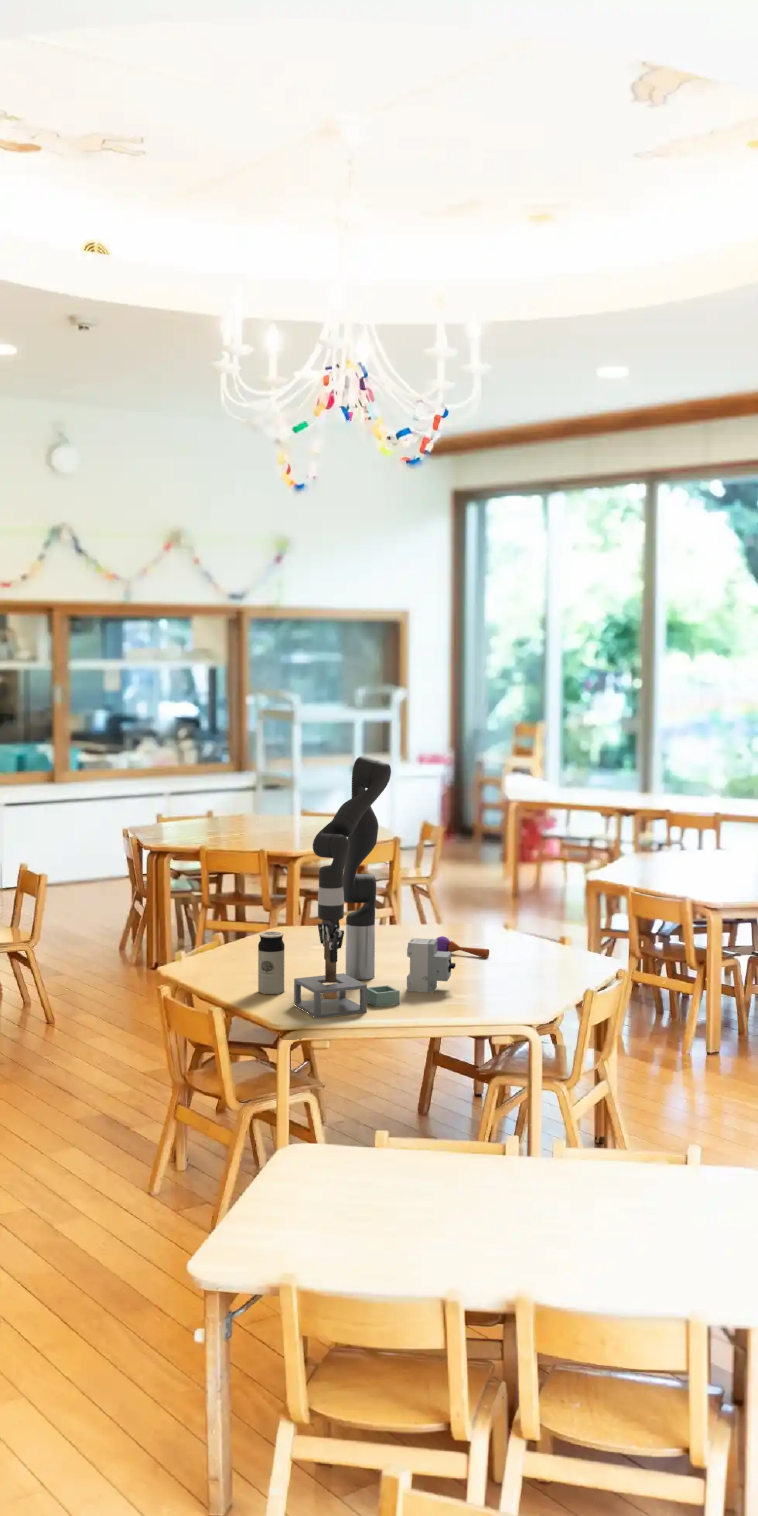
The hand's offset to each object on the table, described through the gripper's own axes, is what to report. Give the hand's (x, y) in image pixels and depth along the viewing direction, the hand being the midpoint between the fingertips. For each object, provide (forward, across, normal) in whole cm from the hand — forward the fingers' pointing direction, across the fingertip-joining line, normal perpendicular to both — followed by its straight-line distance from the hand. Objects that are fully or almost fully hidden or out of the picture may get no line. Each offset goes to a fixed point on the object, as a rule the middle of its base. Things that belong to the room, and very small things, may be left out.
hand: (330, 960), depth 396 cm
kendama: (+15, +47, -71) cm, 86 cm away
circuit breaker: (+14, +8, -38) cm, 41 cm away
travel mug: (+14, +26, +8) cm, 31 cm away
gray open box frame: (+14, 0, 0) cm, 14 cm away
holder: (+14, 0, -17) cm, 22 cm away
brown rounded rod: (+6, 0, 0) cm, 6 cm away
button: (+11, 0, 0) cm, 11 cm away
